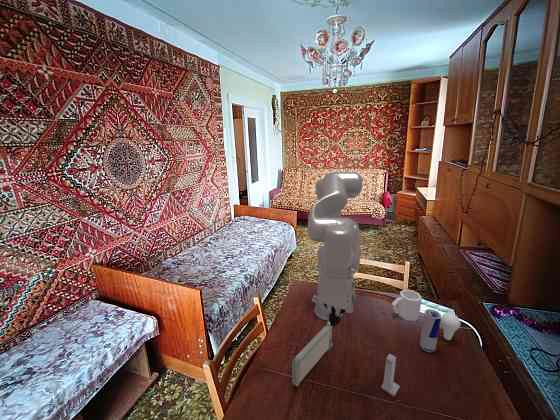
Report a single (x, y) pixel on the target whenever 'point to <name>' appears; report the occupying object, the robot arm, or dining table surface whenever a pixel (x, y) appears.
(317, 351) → the bar
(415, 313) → the mug
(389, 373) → the gate posts
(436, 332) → the beverage can
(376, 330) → the dining table surface
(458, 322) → the lightbulb
